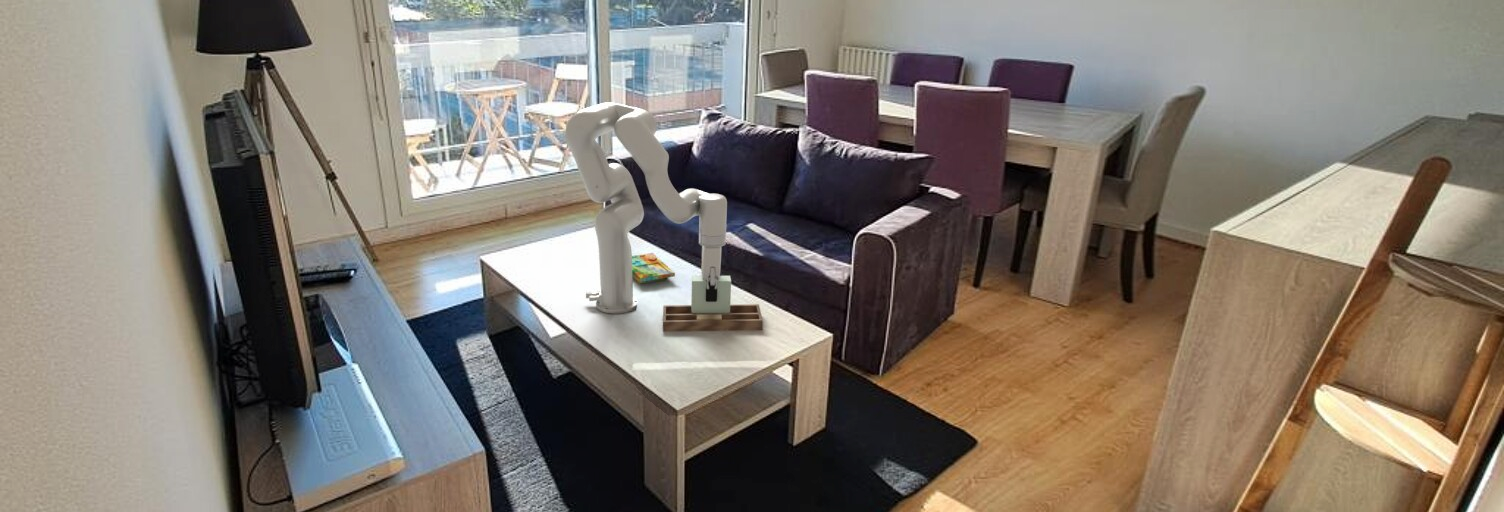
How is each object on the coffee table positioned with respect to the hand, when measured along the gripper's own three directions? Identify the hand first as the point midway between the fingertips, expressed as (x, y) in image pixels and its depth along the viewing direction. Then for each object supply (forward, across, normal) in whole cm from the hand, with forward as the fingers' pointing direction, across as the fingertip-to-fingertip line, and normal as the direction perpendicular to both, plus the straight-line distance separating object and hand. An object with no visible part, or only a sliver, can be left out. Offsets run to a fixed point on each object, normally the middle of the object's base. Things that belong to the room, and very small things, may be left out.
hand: (710, 297), depth 225 cm
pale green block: (+4, 0, 0) cm, 4 cm away
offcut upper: (+5, +5, -1) cm, 7 cm away
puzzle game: (+9, -37, -20) cm, 42 cm away
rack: (+8, +2, 0) cm, 8 cm away
